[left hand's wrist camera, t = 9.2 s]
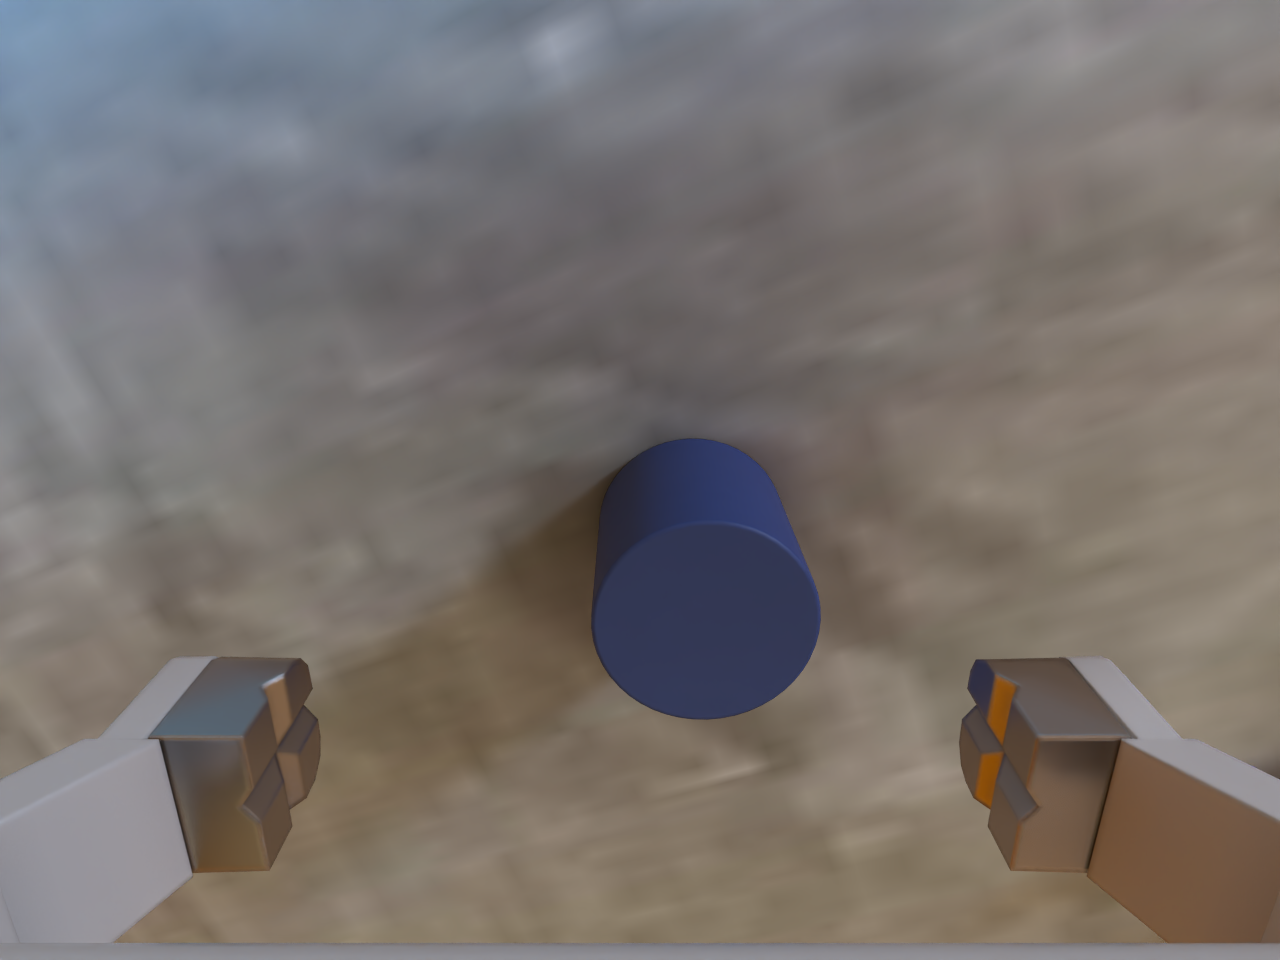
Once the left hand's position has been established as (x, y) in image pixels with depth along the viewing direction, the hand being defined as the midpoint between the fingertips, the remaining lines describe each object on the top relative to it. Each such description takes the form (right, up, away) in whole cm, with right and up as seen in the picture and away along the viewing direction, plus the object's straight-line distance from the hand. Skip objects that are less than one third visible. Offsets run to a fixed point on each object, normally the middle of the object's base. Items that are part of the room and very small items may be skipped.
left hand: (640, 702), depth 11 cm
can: (+1, +2, +10) cm, 10 cm away
